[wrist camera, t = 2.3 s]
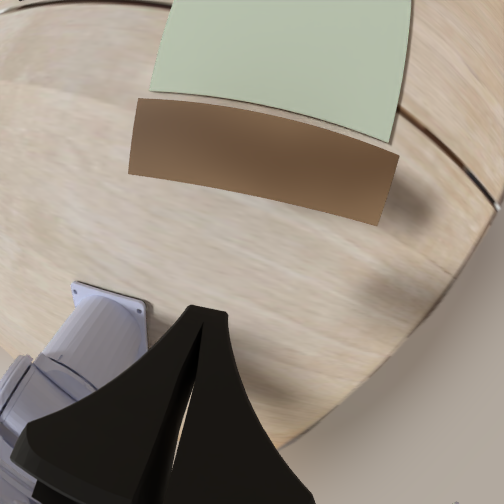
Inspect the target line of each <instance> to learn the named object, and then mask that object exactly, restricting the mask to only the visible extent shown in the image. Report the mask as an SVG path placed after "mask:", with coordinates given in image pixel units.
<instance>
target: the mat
mask: <svg viewBox="0 0 504 504" xmlns="http://www.w3.org/2000/svg"><path fill="white" fill-rule="evenodd" d="M410 13H411V0H174V2H173V5H172V8H171V10H170V13H169V16H168V19H167V23H166V26H165V29H164V32H163V36H162V39H161V43H160V46H159V50H158V54H157V58H156V62H155V66H154V70H153V74H152V79H151V84H150V88H149V91H152V92H170V93H183V94H194V95H203V96H211V97H218V98H225V99H232V100H238V101H243V102H249V103H254V104H259V105H264V106H269V107H274V108H278V109H282V110H286V111H291V112H295V113H298V114H302V115H306V116H310V117H313V118H317V119H320V120H324V121H327V122H330V123H333V124H337V125H340V126H343V127H346V128H349V129H352V130H354V131H357V132H360V133H363V134H366V135H368V136H371V137H374V138H376V139H379V140H381V141H384V142H387V143H388V142H389V138H390V134H391V130H392V126H393V122H394V117H395V113H396V108H397V103H398V99H399V94H400V88H401V83H402V77H403V71H404V65H405V58H406V51H407V43H408V35H409V25H410Z"/></svg>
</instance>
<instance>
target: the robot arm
mask: <svg viewBox="0 0 504 504" xmlns="http://www.w3.org/2000/svg"><path fill="white" fill-rule="evenodd" d="M71 290H72V295H73V300H74V304H75V309H74V311H73V312H72V313H71V314H70V316H69V317H68V318H67V319H66V321H65V322H64V323H63V324H62V326H61V327H60V328H59V330H58V331H57V332H56V334H55V335H54V336H53V338H52V339H51V340H50V342H49V343H48V344H47V346H46V347H45V348H44V350H43V351H42V353H40V354H39V355H38V357H37V358H36V359H35V361H34V362H33V363H32V362H31V361H32V360H33V358H32V357H31V356H30V355H28V354H27V355H26V356H25V355H19V356H18V357H17V358H16V359H15V360H14V362H13V363H12V364H11V366H10V367H9V369H8V370H7V371H6V373H5V374H4V376H3V378H2V379H1V381H0V504H316V503H315V500H314V498H313V495H312V493H311V492H310V491H309V490H308V489H307V488H306V487H305V486H304V484H303V483H302V482H301V481H300V480H299V479H298V477H297V476H296V475H295V474H294V473H293V472H292V470H291V469H290V468H289V466H288V465H287V464H286V462H285V461H284V460H283V458H282V457H281V455H280V454H279V453H278V451H277V450H276V448H275V446H274V445H273V443H272V442H271V440H270V438H269V437H268V435H267V434H266V432H265V430H264V429H263V427H262V425H261V423H260V421H259V419H258V417H257V416H256V414H255V412H254V410H253V407H252V405H251V403H250V401H249V399H248V396H247V394H246V391H245V389H244V386H243V384H242V381H241V378H240V375H239V372H238V369H237V366H236V362H235V358H234V355H233V351H232V346H231V341H230V335H229V328H228V314H227V313H226V312H225V311H219V310H214V309H209V308H205V307H200V306H195V305H189V306H188V307H187V308H186V309H185V311H184V312H183V313H182V315H181V316H180V317H179V318H178V320H177V321H176V322H175V323H174V324H173V326H172V327H171V328H170V329H169V330H168V331H167V332H166V333H165V334H164V335H163V336H162V337H161V338H160V340H159V341H158V342H157V343H156V344H155V345H154V346H152V347H151V348H150V349H149V350H148V343H147V327H146V306H145V303H144V302H143V301H141V300H137V299H134V298H130V297H126V296H123V295H119V294H116V293H112V292H109V291H105V290H102V289H99V288H95V287H92V286H89V285H86V284H82V283H79V282H76V281H73V282H72V283H71ZM139 309H140V310H141V311H140V310H139ZM194 383H195V384H194ZM193 386H194V388H193ZM192 389H193V391H192ZM191 392H192V395H191ZM190 395H191V399H190V403H189V407H188V411H187V415H186V419H185V423H184V426H183V430H182V434H181V438H180V442H179V445H178V449H177V453H176V457H175V461H174V464H173V460H174V455H175V449H176V444H177V439H178V434H179V430H180V426H181V423H182V419H183V416H184V413H185V410H186V407H187V404H188V401H189V398H190ZM172 466H173V468H172ZM171 471H172V472H171ZM453 504H459V503H458V502H455V503H453Z"/></svg>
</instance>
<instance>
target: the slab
mask: <svg viewBox="0 0 504 504" xmlns="http://www.w3.org/2000/svg"><path fill="white" fill-rule="evenodd" d="M398 159H399V155H397V154H394V153H392V152H389V151H387V150H384V149H382V148H379V147H377V146H374V145H371V144H368V143H366V142H363V141H360V140H357V139H354V138H352V137H349V136H346V135H342V134H339V133H336V132H333V131H330V130H327V129H323V128H320V127H316V126H313V125H309V124H305V123H302V122H298V121H294V120H290V119H286V118H282V117H277V116H273V115H268V114H264V113H259V112H254V111H249V110H243V109H237V108H231V107H225V106H219V105H211V104H204V103H195V102H186V101H175V100H162V99H143V98H138V103H137V109H136V115H135V121H134V127H133V135H132V142H131V151H130V160H129V170H128V174H132V175H139V176H146V177H153V178H159V179H166V180H172V181H178V182H184V183H190V184H196V185H201V186H207V187H212V188H217V189H223V190H228V191H233V192H238V193H243V194H248V195H253V196H257V197H262V198H267V199H271V200H276V201H280V202H285V203H289V204H293V205H297V206H302V207H306V208H310V209H314V210H318V211H322V212H326V213H330V214H334V215H338V216H341V217H345V218H349V219H353V220H356V221H360V222H364V223H367V224H371V225H374V226H377V225H378V222H379V219H380V217H381V214H382V211H383V208H384V205H385V202H386V199H387V196H388V193H389V190H390V186H391V183H392V180H393V177H394V173H395V170H396V166H397V163H398Z"/></svg>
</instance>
